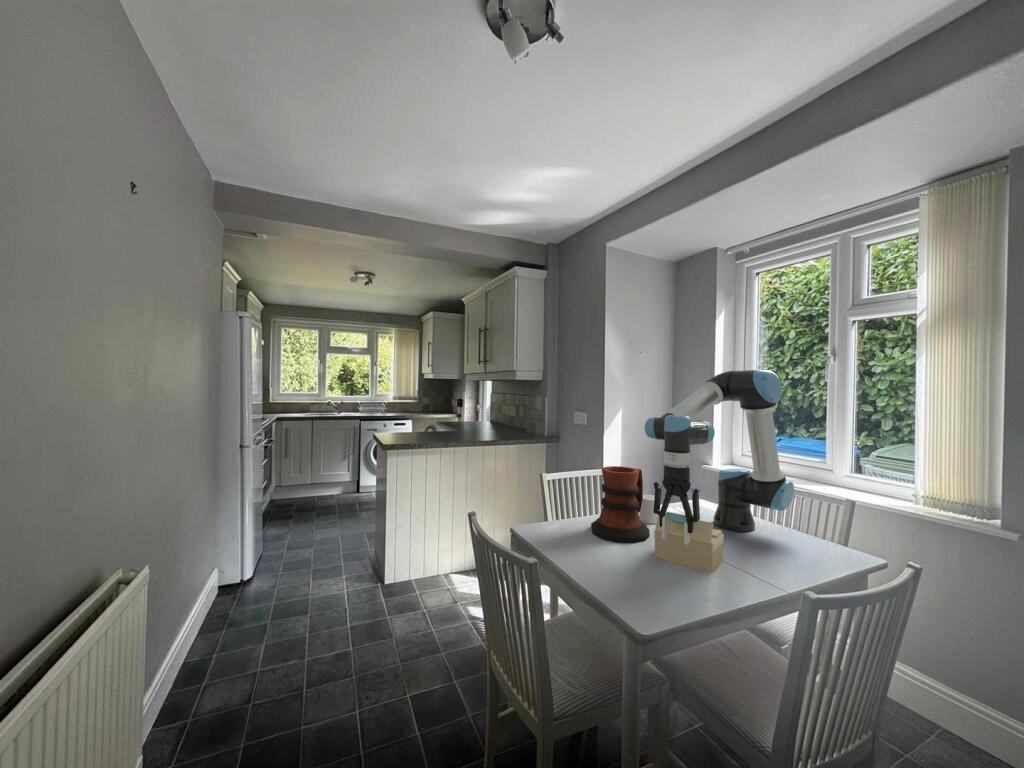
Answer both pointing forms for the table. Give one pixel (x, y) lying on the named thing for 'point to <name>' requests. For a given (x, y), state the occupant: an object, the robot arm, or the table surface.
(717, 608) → the table surface
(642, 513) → the cup
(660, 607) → the table surface
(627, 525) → the tankard
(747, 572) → the table surface
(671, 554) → the carton
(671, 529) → the flap
